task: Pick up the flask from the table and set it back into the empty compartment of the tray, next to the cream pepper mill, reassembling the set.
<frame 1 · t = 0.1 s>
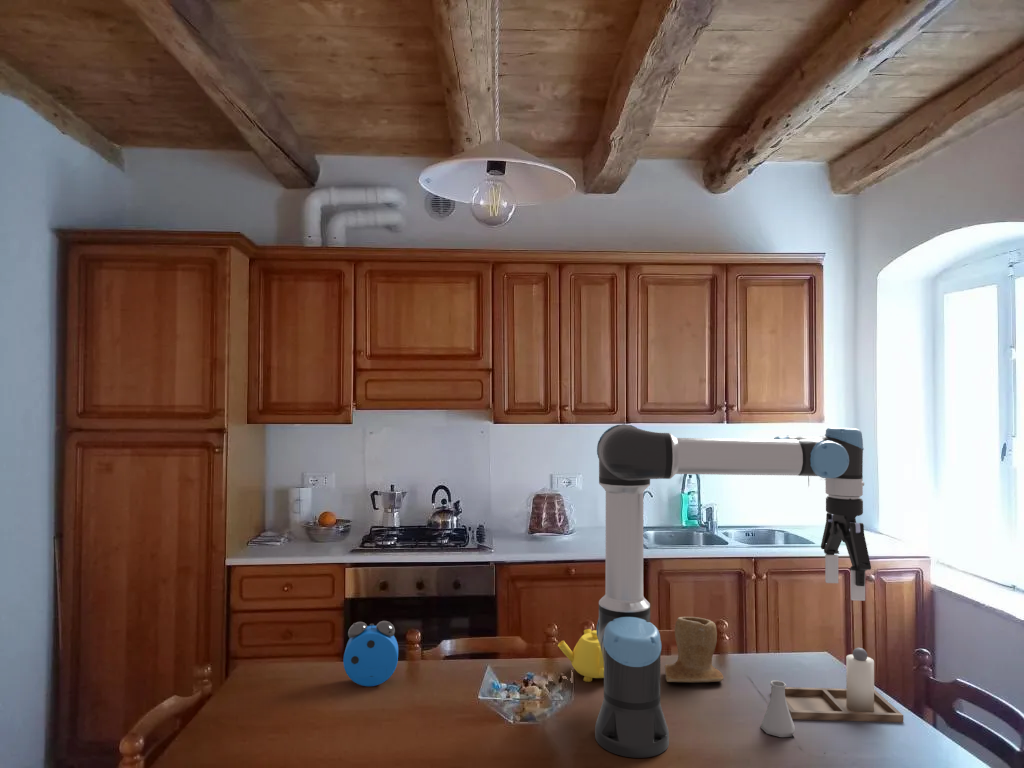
hand: (844, 591, 152), 28 cm above the table, fingers open, 13 cm apart
alarm clock: (371, 683, 168), on the table
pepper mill: (860, 707, 154), point 1 cm above the table, touching tray
flask: (778, 731, 145), on the table
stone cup: (690, 679, 172), on the table
teapot: (591, 674, 174), on the table
tray: (834, 710, 155), on the table
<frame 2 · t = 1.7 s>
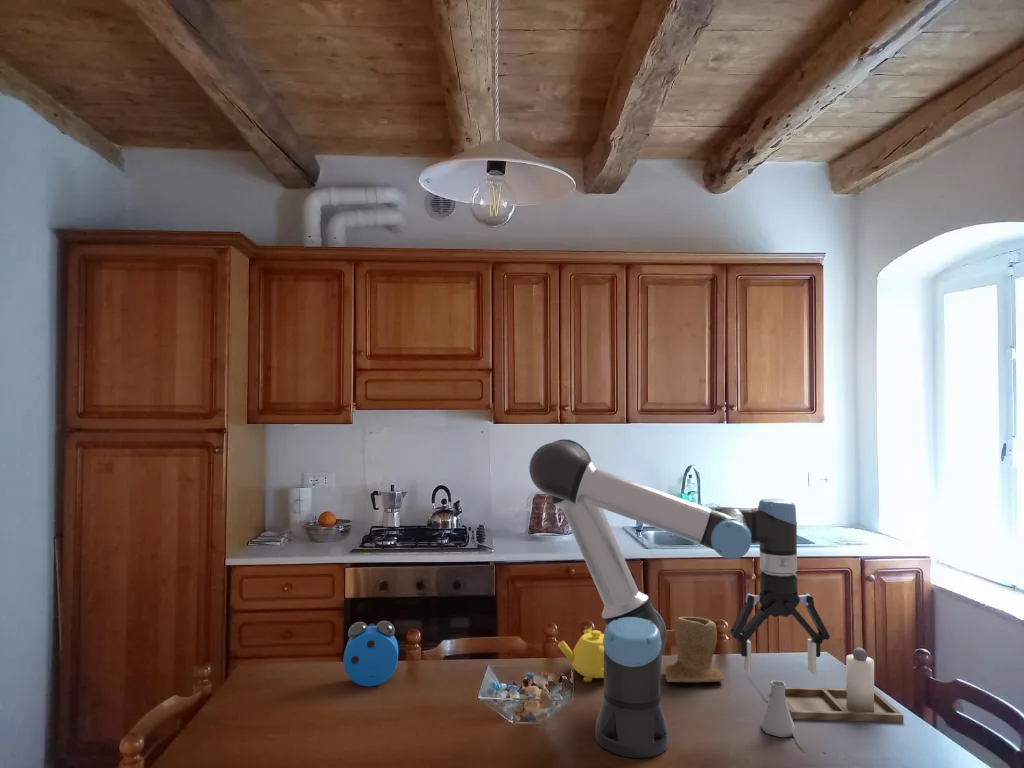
hand: (779, 671, 145), 12 cm above the table, fingers open, 13 cm apart
nothing on the table moved.
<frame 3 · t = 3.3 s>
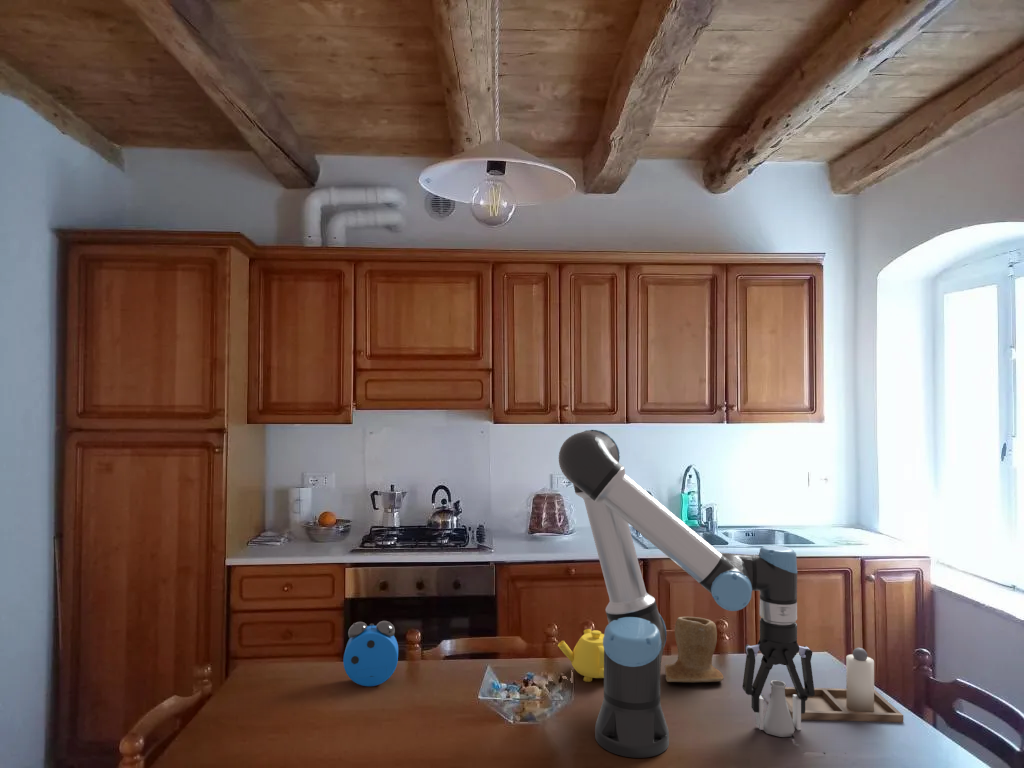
hand: (778, 727, 145), 1 cm above the table, fingers closed on flask, 7 cm apart
flask: (778, 730, 145), on the table, touching gripper
everything else where it was.
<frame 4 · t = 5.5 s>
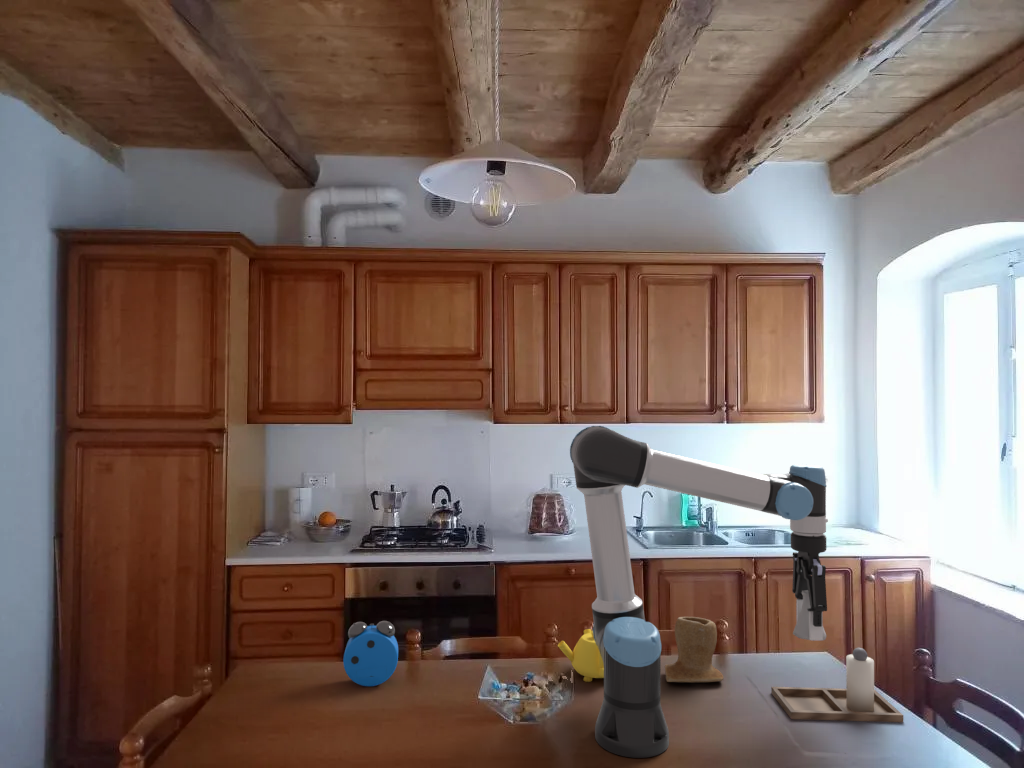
hand: (809, 633, 155), 18 cm above the table, fingers closed on flask, 7 cm apart
flask: (809, 637, 155), point 17 cm above the table, touching gripper
everything else where it was.
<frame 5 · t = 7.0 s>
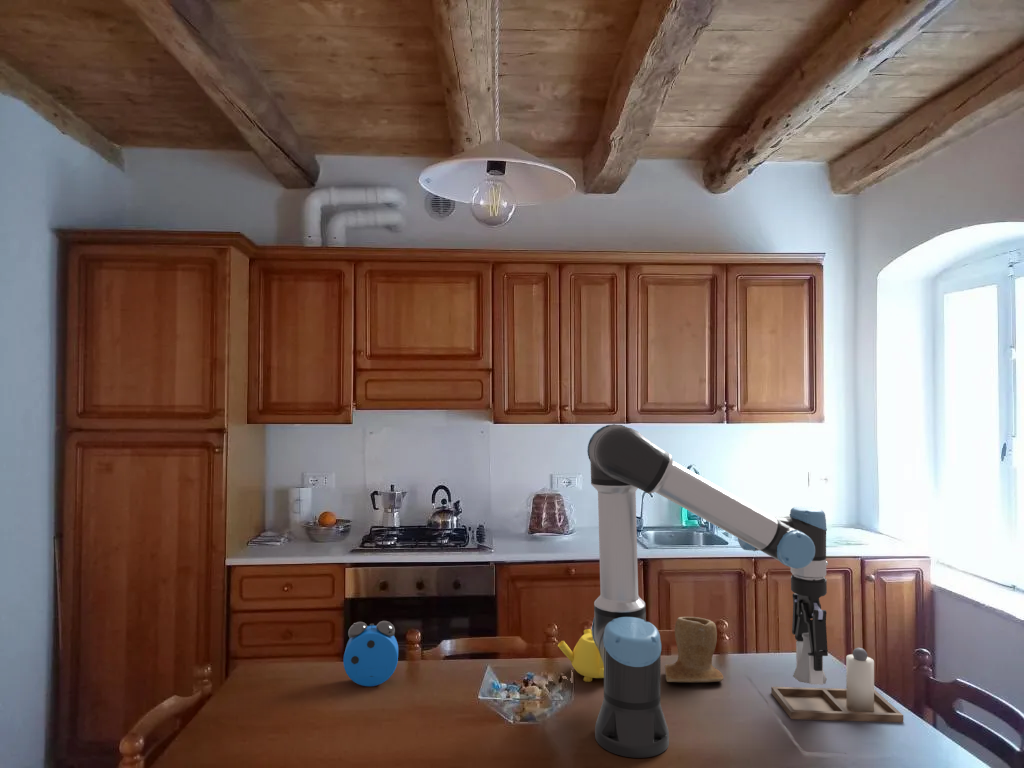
hand: (809, 676, 155), 8 cm above the table, fingers closed on flask, 7 cm apart
flask: (809, 679, 155), point 7 cm above the table, touching gripper
everything else where it was.
when the fingers open (3 cm above the table, at t = 8.1 s): flask drops 2 cm, resting on tray.
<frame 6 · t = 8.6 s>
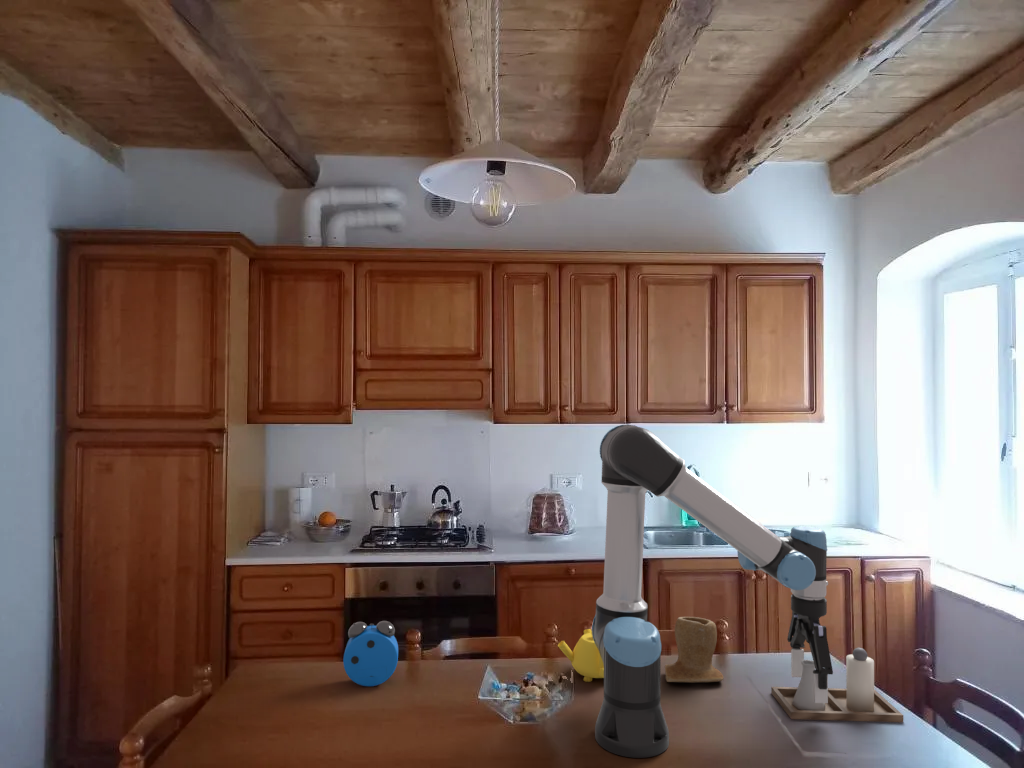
hand: (808, 689, 155), 5 cm above the table, fingers open, 13 cm apart
flask: (808, 707, 155), point 1 cm above the table, touching tray
everything else where it was.
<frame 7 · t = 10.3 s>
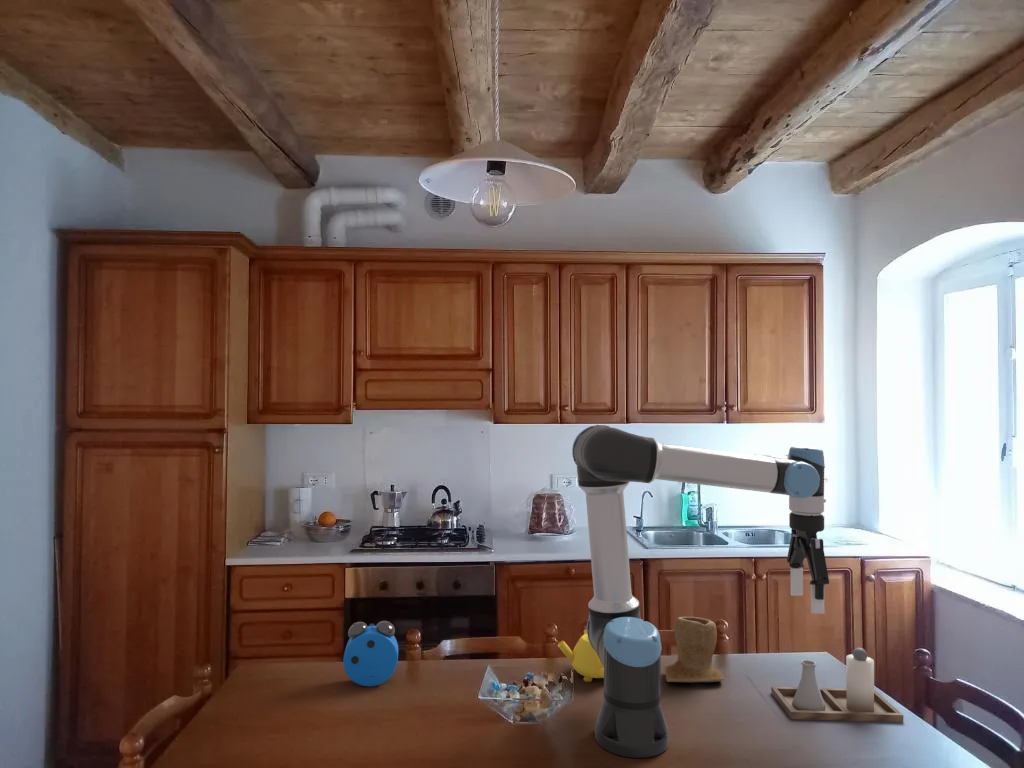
hand: (806, 603, 158), 23 cm above the table, fingers open, 13 cm apart
nothing on the table moved.
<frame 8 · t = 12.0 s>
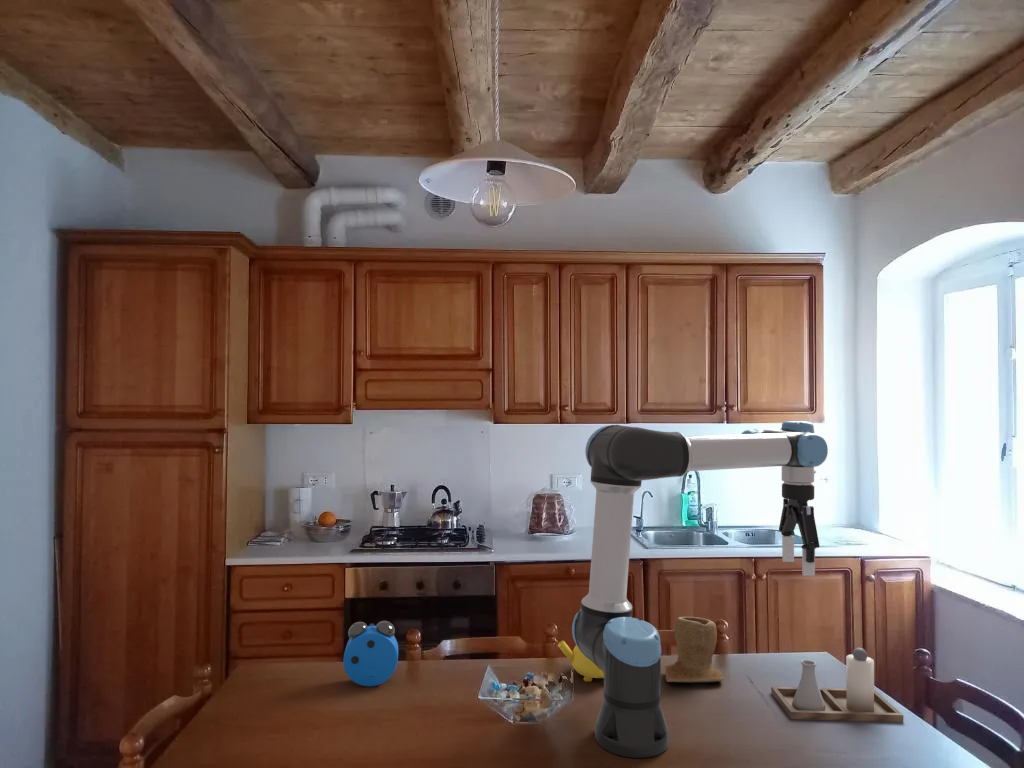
hand: (798, 568, 169), 29 cm above the table, fingers open, 13 cm apart
nothing on the table moved.
at the end: flask inside the target area on the tray (0.0 cm from its centre), point 0.6 cm above the tray's base; flask tilted 0°; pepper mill moved 0.0 cm from its start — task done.
